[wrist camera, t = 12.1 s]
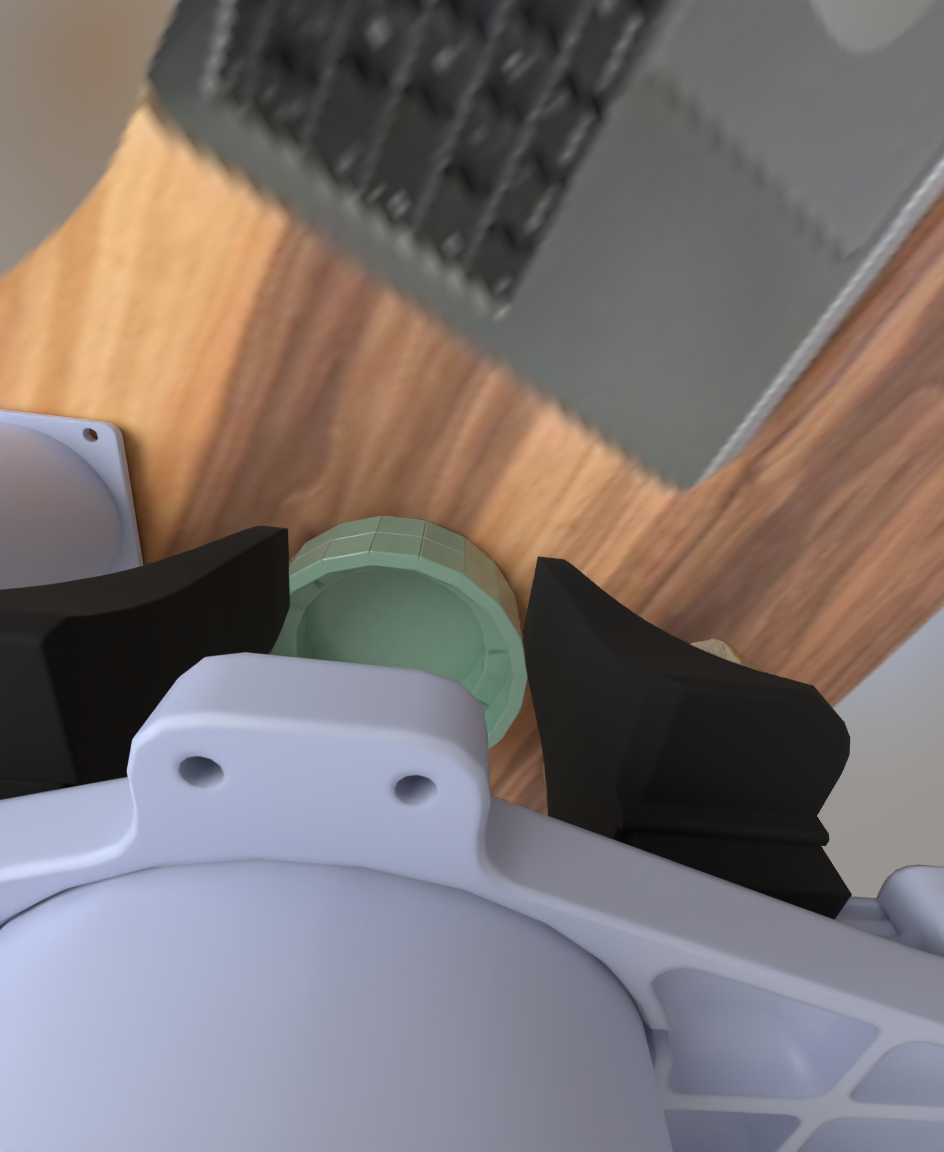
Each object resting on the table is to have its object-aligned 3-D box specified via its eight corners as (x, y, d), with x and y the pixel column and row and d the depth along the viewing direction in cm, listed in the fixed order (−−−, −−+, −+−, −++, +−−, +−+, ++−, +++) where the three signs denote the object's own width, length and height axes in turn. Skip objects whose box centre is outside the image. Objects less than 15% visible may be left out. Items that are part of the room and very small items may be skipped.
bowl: (278, 709, 28) (250, 770, 24) (269, 497, 23) (232, 535, 19) (499, 729, 29) (504, 791, 25) (538, 528, 24) (550, 570, 20)
